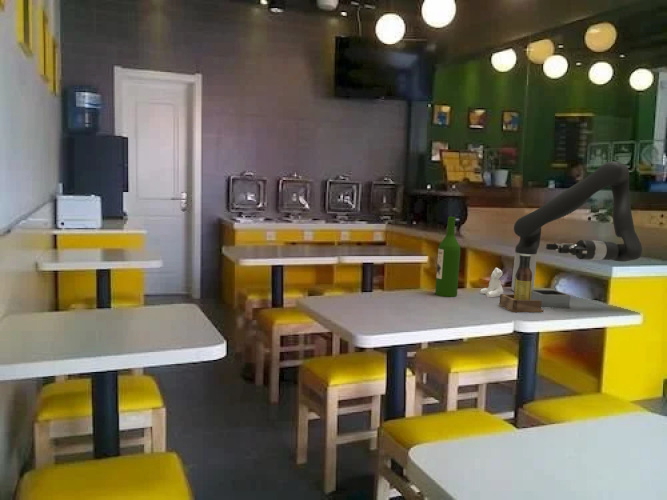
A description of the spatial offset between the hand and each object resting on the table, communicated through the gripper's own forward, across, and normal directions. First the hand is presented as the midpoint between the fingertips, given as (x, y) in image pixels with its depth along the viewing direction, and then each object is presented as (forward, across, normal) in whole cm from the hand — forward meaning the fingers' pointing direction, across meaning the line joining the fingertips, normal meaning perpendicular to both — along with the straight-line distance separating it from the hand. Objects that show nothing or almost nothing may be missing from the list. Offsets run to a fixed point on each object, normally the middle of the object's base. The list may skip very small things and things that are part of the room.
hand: (552, 248), depth 236 cm
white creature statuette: (+10, -25, +25) cm, 37 cm away
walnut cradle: (+11, +1, +24) cm, 26 cm away
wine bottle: (+31, -25, +25) cm, 47 cm away
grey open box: (-5, -7, +24) cm, 25 cm away
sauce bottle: (+10, +1, +23) cm, 25 cm away
